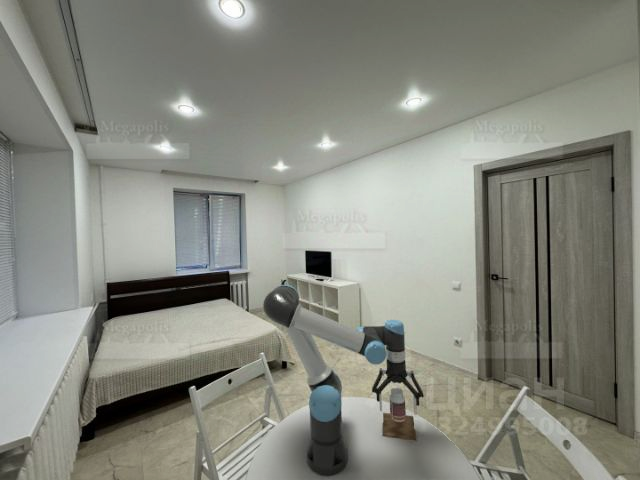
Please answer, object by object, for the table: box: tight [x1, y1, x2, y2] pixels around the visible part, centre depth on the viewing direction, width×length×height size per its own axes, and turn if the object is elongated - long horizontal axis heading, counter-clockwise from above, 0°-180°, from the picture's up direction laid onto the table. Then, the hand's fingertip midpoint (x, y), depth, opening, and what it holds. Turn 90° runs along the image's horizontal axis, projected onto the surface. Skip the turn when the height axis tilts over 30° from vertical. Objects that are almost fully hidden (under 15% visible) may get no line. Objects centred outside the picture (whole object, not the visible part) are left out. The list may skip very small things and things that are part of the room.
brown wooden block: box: [381, 412, 417, 442], centre depth 108 cm, size 13×7×6 cm, turn 76°
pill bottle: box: [389, 387, 407, 422], centre depth 108 cm, size 6×6×11 cm
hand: (397, 410), depth 108 cm, fingers open, 13 cm apart
